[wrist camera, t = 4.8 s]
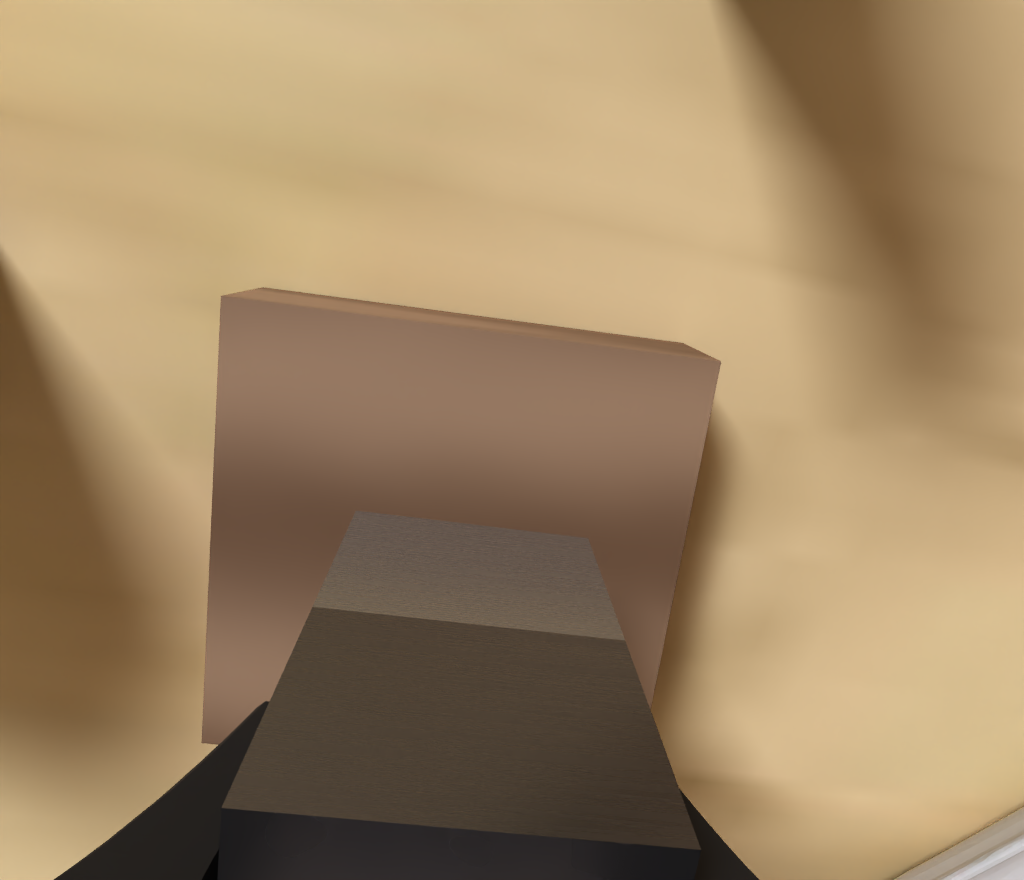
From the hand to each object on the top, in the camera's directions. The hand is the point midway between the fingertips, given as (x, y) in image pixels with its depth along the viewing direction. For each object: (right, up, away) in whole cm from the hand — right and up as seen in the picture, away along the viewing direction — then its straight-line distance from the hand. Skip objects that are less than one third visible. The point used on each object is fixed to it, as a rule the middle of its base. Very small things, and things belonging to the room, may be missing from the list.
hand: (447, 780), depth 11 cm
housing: (0, +1, +3) cm, 3 cm away
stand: (-1, +3, +8) cm, 9 cm away
